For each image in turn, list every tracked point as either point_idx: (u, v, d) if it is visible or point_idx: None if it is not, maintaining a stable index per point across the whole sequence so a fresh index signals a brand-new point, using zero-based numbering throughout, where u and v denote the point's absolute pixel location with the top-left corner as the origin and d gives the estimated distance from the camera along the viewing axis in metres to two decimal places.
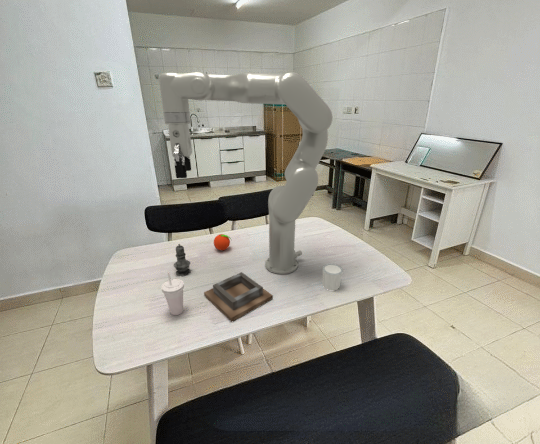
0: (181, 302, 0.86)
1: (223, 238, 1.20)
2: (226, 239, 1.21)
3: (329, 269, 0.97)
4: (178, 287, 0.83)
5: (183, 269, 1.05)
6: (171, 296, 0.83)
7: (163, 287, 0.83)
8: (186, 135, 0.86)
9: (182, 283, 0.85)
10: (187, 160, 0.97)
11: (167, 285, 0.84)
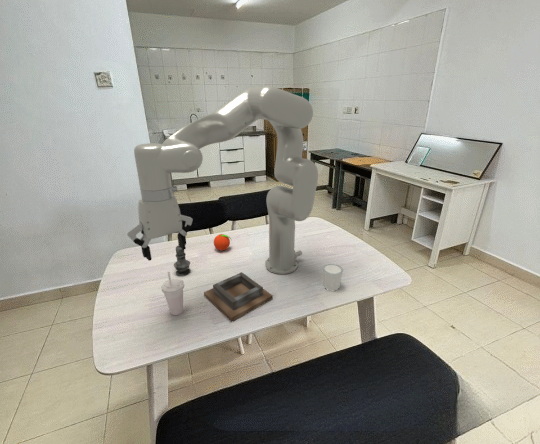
0: (181, 302, 0.86)
1: (223, 238, 1.20)
2: (226, 239, 1.21)
3: (329, 269, 0.97)
4: (178, 287, 0.83)
5: (183, 269, 1.05)
6: (171, 296, 0.83)
7: (163, 287, 0.83)
8: None
9: (182, 283, 0.85)
10: None
11: (167, 285, 0.84)
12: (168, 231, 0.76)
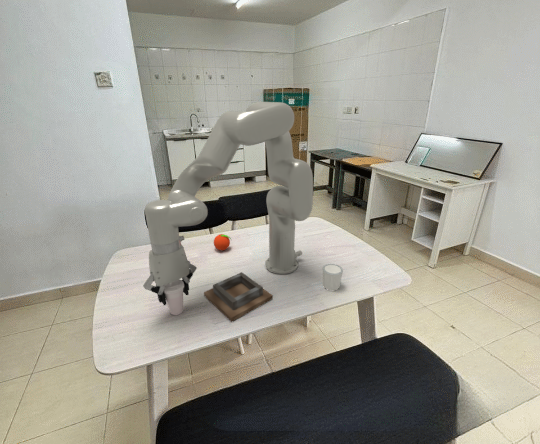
0: (181, 302, 0.86)
1: (223, 238, 1.20)
2: (226, 239, 1.21)
3: (329, 269, 0.97)
4: (178, 287, 0.83)
5: None
6: (171, 296, 0.83)
7: None
8: None
9: (182, 283, 0.85)
10: None
11: (167, 285, 0.84)
12: (176, 277, 0.82)
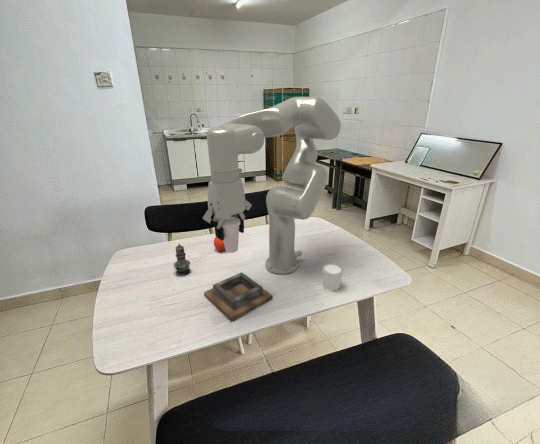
0: (237, 239, 0.85)
1: None
2: None
3: (329, 269, 0.97)
4: (235, 222, 0.82)
5: (183, 269, 1.05)
6: (228, 230, 0.81)
7: None
8: None
9: (238, 219, 0.84)
10: None
11: (224, 220, 0.83)
12: (234, 211, 0.81)
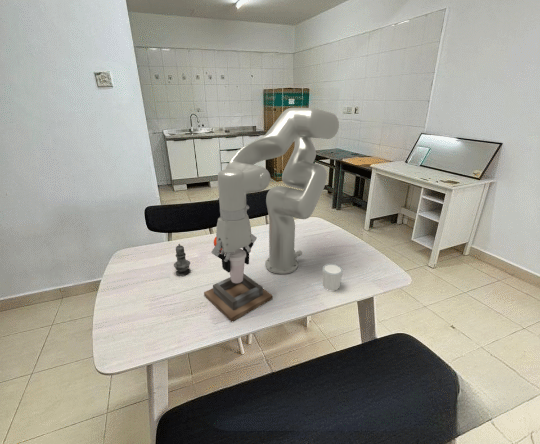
0: (243, 270, 0.89)
1: None
2: None
3: (329, 269, 0.97)
4: (242, 255, 0.86)
5: (183, 269, 1.05)
6: (235, 263, 0.86)
7: None
8: None
9: (244, 252, 0.88)
10: None
11: (231, 253, 0.87)
12: (241, 245, 0.85)
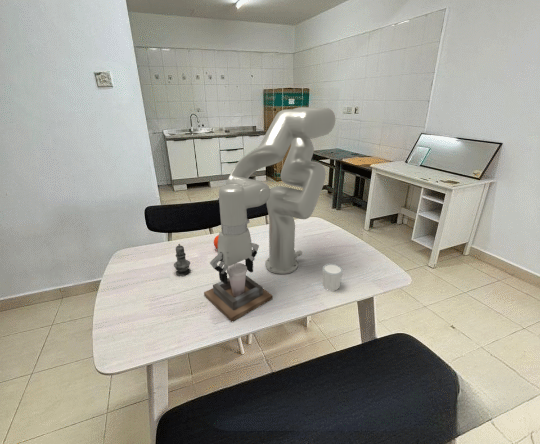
0: (244, 284, 0.91)
1: None
2: None
3: (329, 269, 0.97)
4: (243, 270, 0.89)
5: (183, 269, 1.05)
6: (236, 278, 0.88)
7: (229, 270, 0.89)
8: None
9: (245, 266, 0.91)
10: None
11: (232, 268, 0.89)
12: (242, 258, 0.87)
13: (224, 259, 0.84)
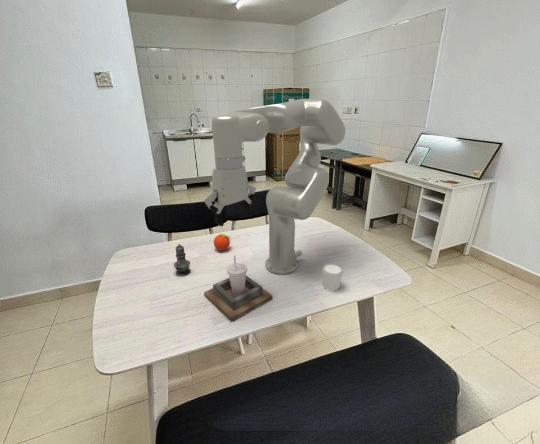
0: (244, 284, 0.91)
1: (223, 238, 1.20)
2: (226, 239, 1.21)
3: (329, 269, 0.97)
4: (243, 270, 0.89)
5: (183, 269, 1.05)
6: (236, 278, 0.88)
7: (229, 270, 0.89)
8: None
9: (245, 266, 0.91)
10: None
11: (232, 268, 0.90)
12: (238, 198, 0.82)
13: (219, 197, 0.78)
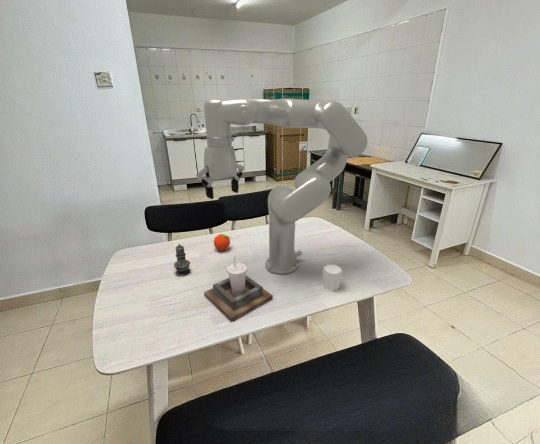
0: (244, 284, 0.91)
1: (223, 238, 1.20)
2: (226, 239, 1.21)
3: (329, 269, 0.97)
4: (243, 270, 0.89)
5: (183, 269, 1.05)
6: (236, 278, 0.88)
7: (229, 270, 0.89)
8: None
9: (245, 266, 0.91)
10: None
11: (232, 268, 0.90)
12: (227, 174, 0.92)
13: (210, 172, 0.89)
